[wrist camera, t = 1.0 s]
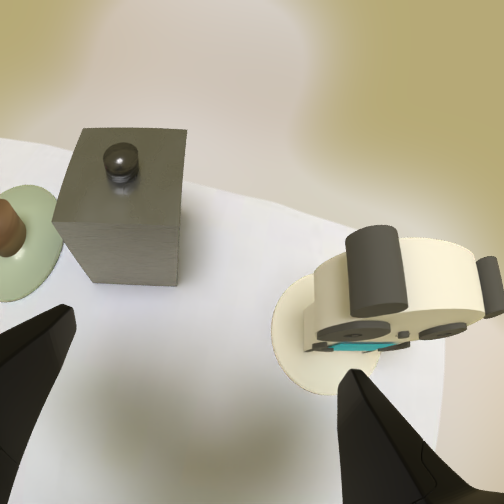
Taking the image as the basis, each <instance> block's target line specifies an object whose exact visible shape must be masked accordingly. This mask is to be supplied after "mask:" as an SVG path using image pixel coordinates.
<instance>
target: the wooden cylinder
mask: <svg viewBox="0 0 504 504" xmlns="http://www.w3.org/2000/svg"><path fill="white" fill-rule="evenodd" d="M25 239H26V226H25V224H24V223H23V221H22V220H21V219H20V217H19V216H18V214H17V213H16V212H15V210H14V209H13V207H12V206H11V204H10V203H9V202H8V201H7V200H5V199H0V256H1V257H11V256H13V255H15V254H16V253H17V252H18V251H19V250H20V249H21V247H22V246H23V244H24V242H25Z"/></svg>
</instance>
